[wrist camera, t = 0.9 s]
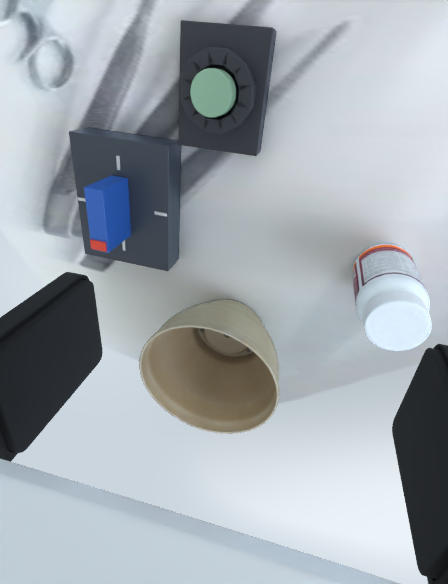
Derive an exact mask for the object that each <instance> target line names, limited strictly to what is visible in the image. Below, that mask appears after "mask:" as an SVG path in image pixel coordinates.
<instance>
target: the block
mask: <svg viewBox="0 0 448 584" xmlns="http://www.w3.org/2000/svg"><path fill="white" fill-rule="evenodd" d="M275 38H276V30H275V29H273V28H269V27H257V26H244V25H232V24H220V23H208V22H196V21H183V20H181V36H180V92H179V145H185V146H191V147H198V148H205V149H212V150H219V151H226V152H233V153H239V154H246V155H253V156H257V155H258V154H259V153H260V150H261V143H262V135H263V128H264V120H265V113H266V105H267V98H268V91H269V83H270V76H271V68H272V61H273V53H274V46H275ZM207 68H216V69H221V70H224V71H226V72H227V73H228V74H229V75H230V76H231V77H232V79H233V81H234V83H235V86H236V99H235V102H234V105H233V106H232V108H231V109H230V110H229V111H228V112H227V113H225V114H223V115H221V116H217V117H206V116H204V115H202V114H200V113H199V112H198V111H197V110H196V108H195V107H194V105H193V103H192V100H191V94H190V90H191V84H192V81H193V79H194V78H195V76H196V75H197V74H198V73H199V72H200V71H202V70H204V69H207Z"/></svg>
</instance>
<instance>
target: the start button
mask: <svg viewBox="0 0 448 584" xmlns="http://www.w3.org/2000/svg"><path fill="white" fill-rule="evenodd" d="M190 94H191V100H192V103H193V105H194V107H195V108H196V110H197V111H198V112H199V113H200V114H202V115H204V116H206V117H217V116H221V115H223V114H225V113H227V112H228V111H229V110H230V109H231V108H232V106H233V105H234V102H235V99H236V86H235V83H234V81H233V79H232V77H231V76H230V75H229V74H228V73H227V72H226V71H224V70H221V69H216V68H207V69H204V70H202V71H200V72H199V73H198V74H197V75H196V76H195V78H194V79H193V81H192V84H191V90H190Z"/></svg>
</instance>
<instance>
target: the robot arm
mask: <svg viewBox="0 0 448 584" xmlns="http://www.w3.org/2000/svg"><path fill="white" fill-rule="evenodd" d="M101 357H102V344H101V337H100V330H99V322H98V315H97V307H96V300H95V293H94V286H93V283H92V282H91V281H89V279H88V277H87V276H85V275H81V274H76V273H70V272H66V273H64V274H62V275H61V276H59V277H58V278H57V279H55V280H54V281H52V282H51V283H49V284H48V285H46V286H45V287H44V288H42V289H41V290H39V291H38V292H36V293H35V294H34V295H32V296H31V297H29V298H28V299H27V300H25V301H24V302H23V303H21V304H19V305H18V306H16V307H15V308H13V309H12V310H11V311H9V312H8V313H6V314H5V315H3V316H2V317H1V318H0V584H399V583H395V582H393V581H390V580H387V579H384V578H381V577H377V576H375V575H372V574H369V573H366V572H363V571H360V570H357V569H354V568H351V567H347V566H344V565H341V564H338V563H335V562H332V561H328V560H325V559H322V558H319V557H316V556H313V555H310V554H306V553H303V552H300V551H297V550H294V549H291V548H287V547H284V546H281V545H278V544H275V543H272V542H268V541H265V540H262V539H259V538H256V537H253V536H249V535H246V534H243V533H240V532H237V531H234V530H230V529H227V528H224V527H221V526H217V525H214V524H211V523H208V522H205V521H202V520H198V519H195V518H192V517H189V516H185V515H182V514H179V513H176V512H173V511H169V510H166V509H163V508H160V507H157V506H153V505H150V504H147V503H144V502H140V501H137V500H134V499H131V498H127V497H124V496H121V495H118V494H114V493H111V492H108V491H105V490H102V489H98V488H95V487H91V486H89V485H85V484H82V483H78V482H75V481H72V480H69V479H66V478H62V477H59V476H55V475H52V474H49V473H46V472H42V471H39V470H36V469H33V468H29V467H26V466H23V465H19V464H16V463H12V462H11V461H12V459H13V458H14V457H15V456H16V455H17V454H18V453H20V452H23V451H25V450H26V449H27V448H28V446H29V445H30V444H31V443H32V442H33V441H34V440H35V438H36V437H37V436H38V435H39V433H40V432H41V431H42V430H43V429H44V427H45V426H46V425H47V424H48V423H49V422H50V420H51V419H52V418H53V417H54V416H55V414H56V413H57V412H58V411H59V410H60V408H61V407H62V406H63V405H64V404H65V402H66V401H67V400H68V399H69V398H70V397H71V395H72V394H73V393H74V392H75V391H76V389H77V388H78V387H79V386H80V385H81V383H82V382H83V381H84V380H85V379H86V377H87V376H88V375H89V373H91V371H92V370H93V369H94V368H95V367H96V365H97V364H98V363H99V362H100V360H101ZM392 432H393V438H394V444H395V449H396V454H397V459H398V465H399V470H400V475H401V481H402V486H403V492H404V496H405V502H406V507H407V513H408V518H409V523H410V529H411V534H412V539H413V545H414V549H415V555H416V560H417V565H418V569H419V571H420V573H421V574H422V575H424V576H427V579H428V584H448V346H447V345H442V344H438V345H436V346H435V347H434V349H432V348H428V349H427V350H426V351H425V353H424V355H423V357H422V359H421V362H420V364H419V366H418V368H417V370H416V372H415V375H414V377H413V379H412V381H411V384H410V386H409V388H408V390H407V392H406V394H405V396H404V399H403V401H402V403H401V405H400V407H399V409H398V412H397V414H396V416H395V418H394V421H393V427H392Z"/></svg>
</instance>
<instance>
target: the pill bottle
mask: <svg viewBox="0 0 448 584" xmlns="http://www.w3.org/2000/svg"><path fill="white" fill-rule="evenodd" d="M353 284H354V294H355V305H356V311H357V314H358V317H359V318H360V320H361V321H362V323H363V324H364V330H365V333H366V335H367V337H368V339H369V340H370V341H371V342H372V343H373V344H375V345H376V346H378V347H380V348H383V349H385V350H391V351H403V350H408V349H411V348H414V347H416V346H418V345H420V344H421V343H422V342H423V341H424V340H425V339H426V338H427V337H428V335H429V334H430V331H431V327H432V321H431V317H430V315H429V309H430V300H429V296H428V293H427V290H426V288H425V286H424V284H423V282H422V279H421V277H420V275H419V272H418V270H417V268H416V266H415V263H414V261H413V259H412V257H411V256H410V254H409V253H408V252H407V251H406V250H404V249H403V248H401V247H399V246H397V245H393V244H378V245H374V246H371V247H369V248H367V249H366V250H364V251H363V252H362V253H361V254H360V255H359V256H358V257H357V259H356V260H355V263H354V265H353Z"/></svg>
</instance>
